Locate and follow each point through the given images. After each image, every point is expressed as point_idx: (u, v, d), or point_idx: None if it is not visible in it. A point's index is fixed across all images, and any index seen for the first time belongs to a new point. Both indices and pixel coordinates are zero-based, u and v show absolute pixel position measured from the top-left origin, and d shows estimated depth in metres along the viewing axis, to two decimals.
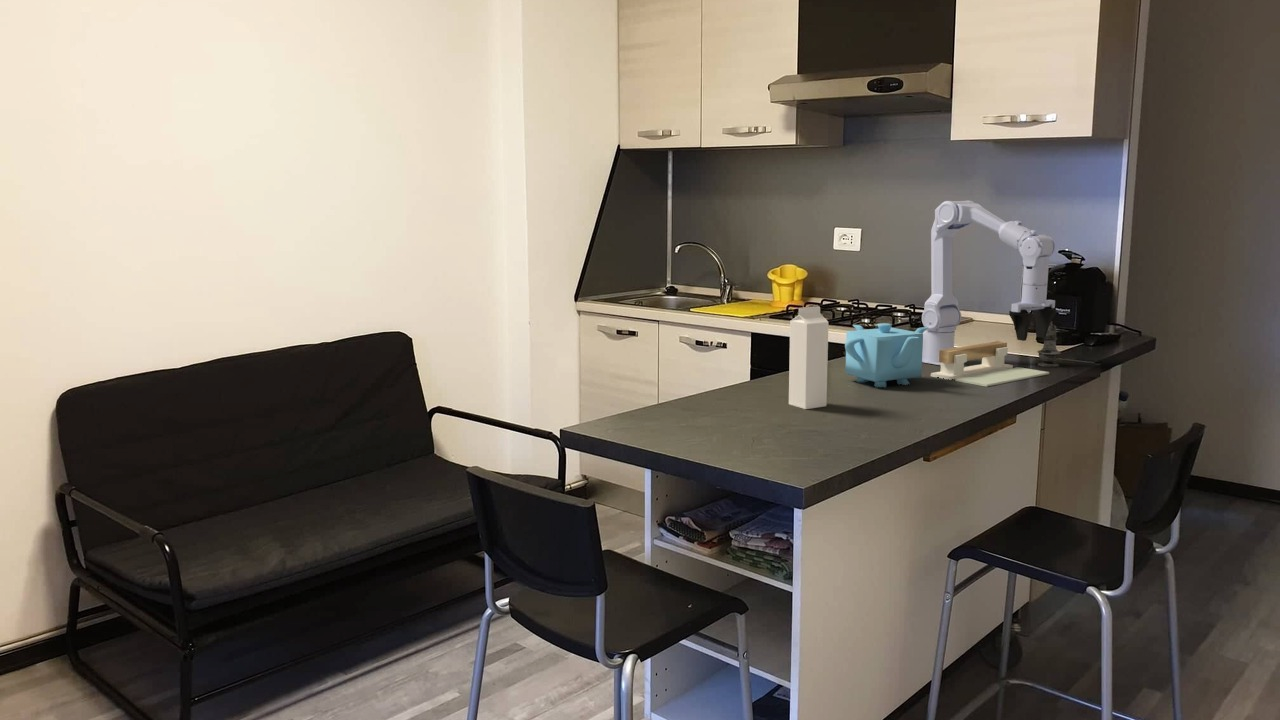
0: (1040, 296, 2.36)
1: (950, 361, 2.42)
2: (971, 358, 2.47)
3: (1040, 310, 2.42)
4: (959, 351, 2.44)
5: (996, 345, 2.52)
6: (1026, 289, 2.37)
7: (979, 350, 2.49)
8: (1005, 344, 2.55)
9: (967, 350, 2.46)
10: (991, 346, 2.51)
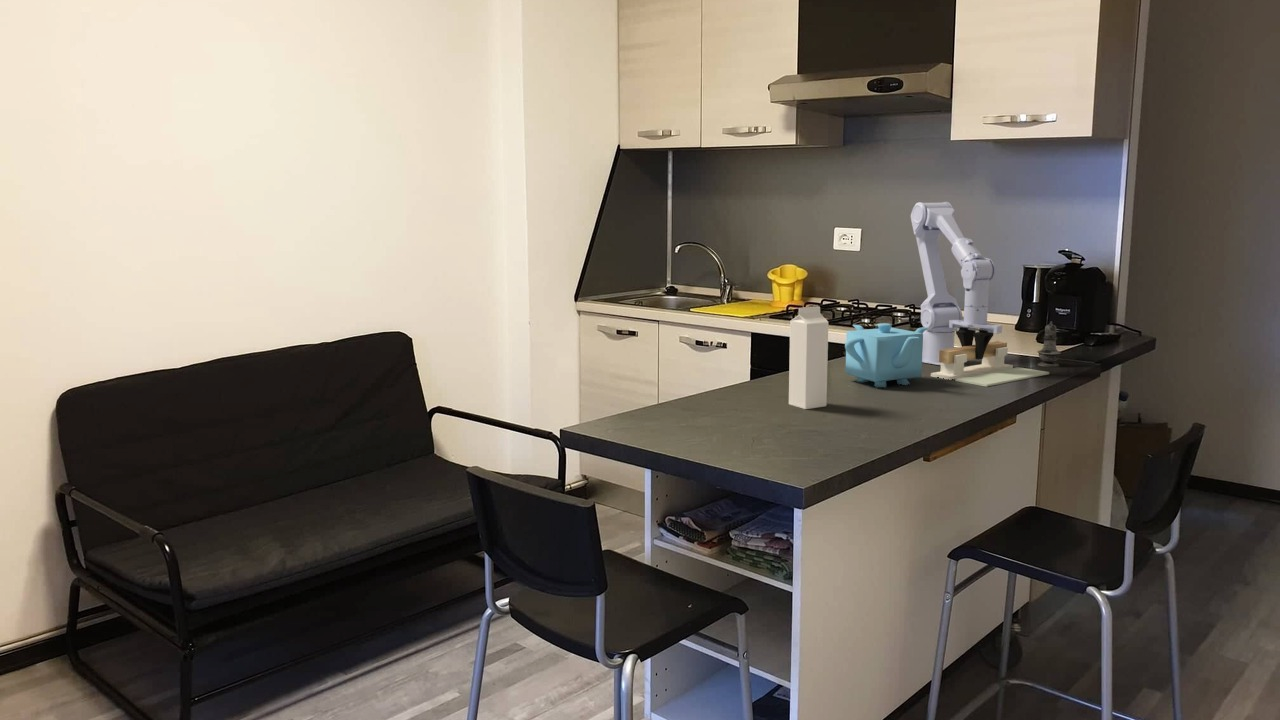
0: (965, 316, 2.47)
1: (950, 361, 2.42)
2: (971, 358, 2.47)
3: None
4: (959, 351, 2.44)
5: (996, 345, 2.52)
6: None
7: None
8: (1005, 344, 2.55)
9: (967, 350, 2.46)
10: (991, 346, 2.51)
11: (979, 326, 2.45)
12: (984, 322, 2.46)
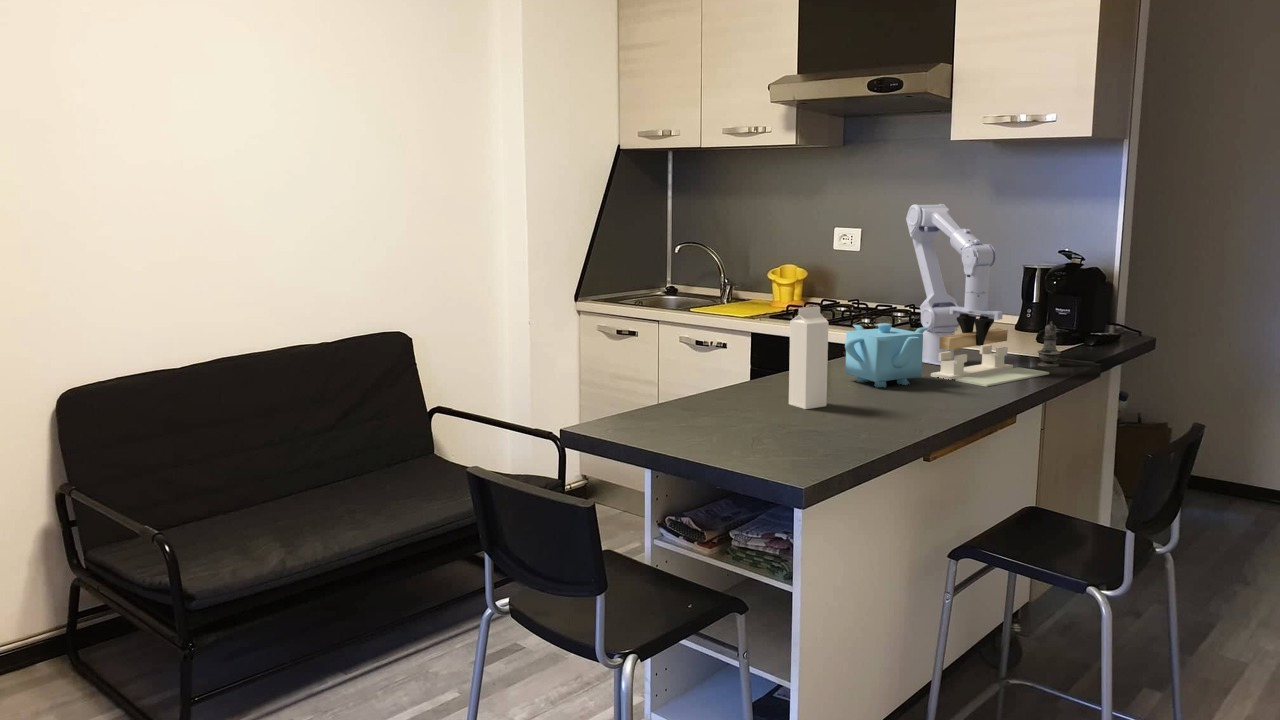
0: (966, 303, 2.47)
1: (951, 348, 2.42)
2: (972, 345, 2.46)
3: None
4: (960, 338, 2.43)
5: (997, 332, 2.52)
6: None
7: None
8: (1006, 331, 2.54)
9: (968, 337, 2.45)
10: (992, 333, 2.51)
11: (980, 312, 2.44)
12: (985, 308, 2.45)
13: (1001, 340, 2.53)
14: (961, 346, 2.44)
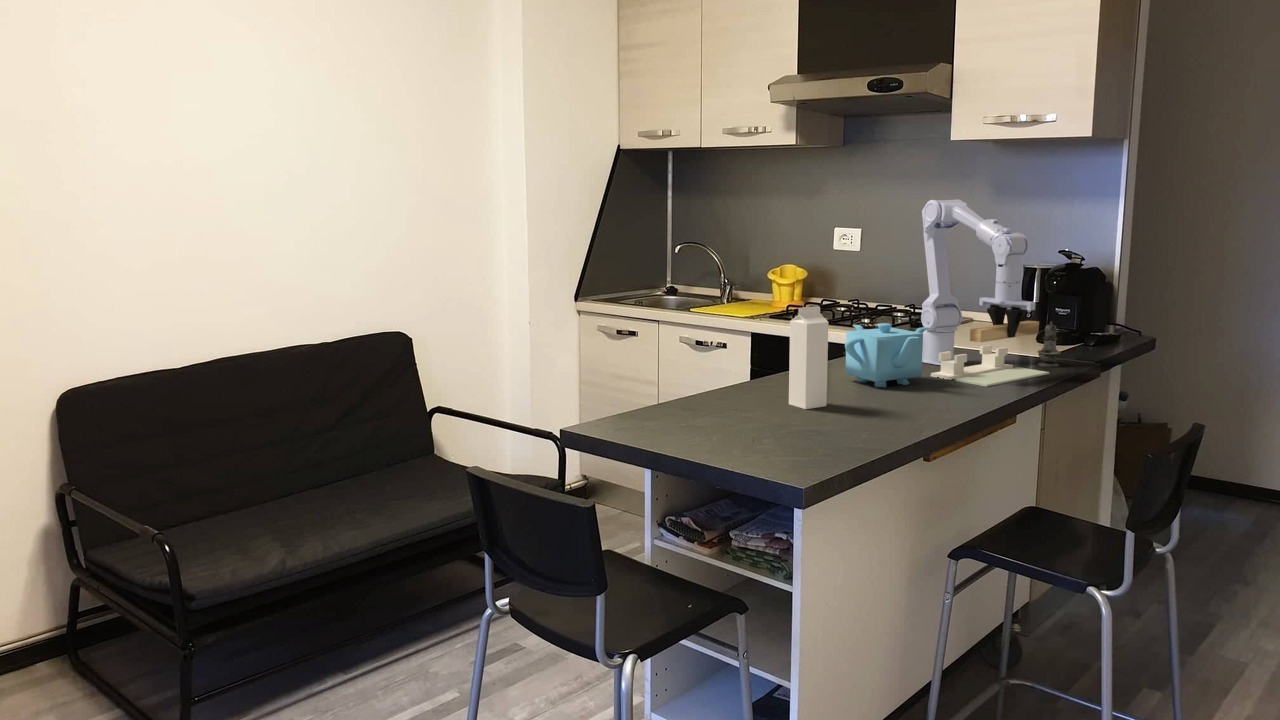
0: (997, 293, 2.39)
1: (982, 340, 2.34)
2: (1003, 337, 2.39)
3: None
4: (991, 330, 2.35)
5: (1028, 324, 2.44)
6: None
7: None
8: (1037, 323, 2.46)
9: (999, 329, 2.37)
10: (1023, 325, 2.43)
11: (1011, 303, 2.36)
12: (1016, 299, 2.38)
13: (1032, 332, 2.46)
14: (992, 338, 2.36)
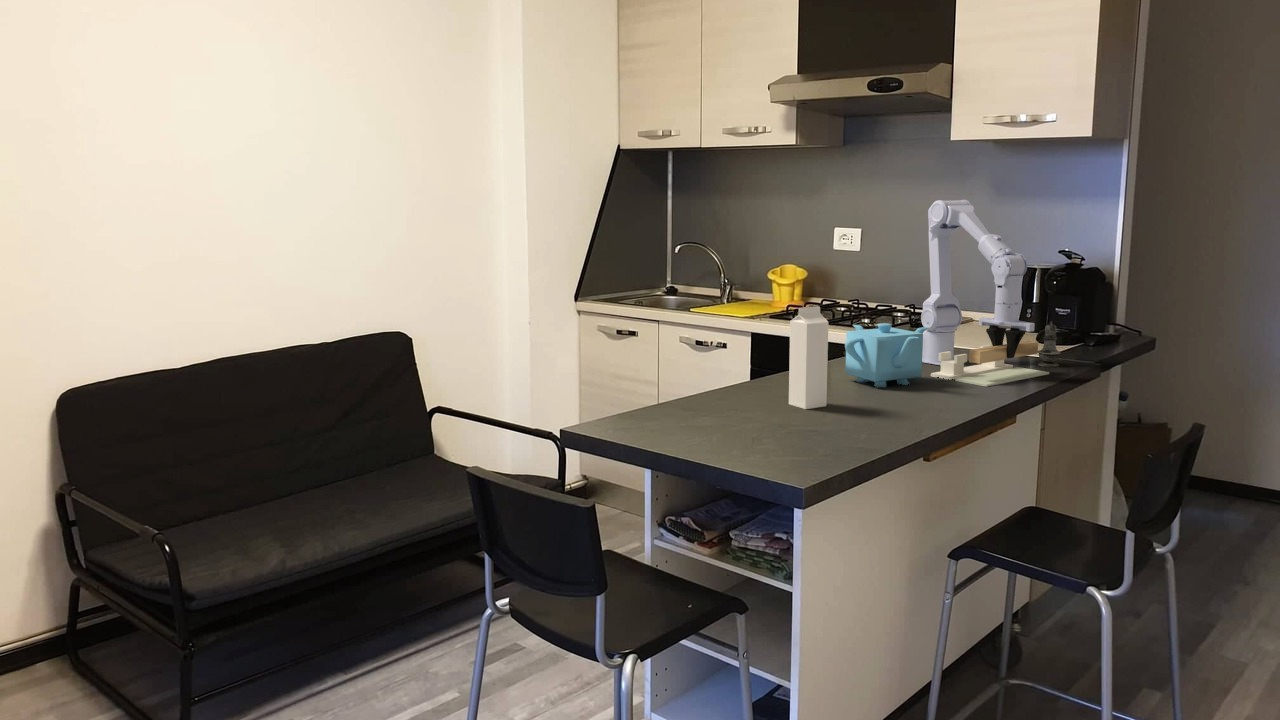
0: (996, 314, 2.40)
1: (981, 361, 2.35)
2: (1002, 358, 2.39)
3: None
4: (990, 351, 2.36)
5: (1027, 345, 2.45)
6: None
7: None
8: (1036, 344, 2.47)
9: (998, 350, 2.38)
10: (1022, 346, 2.44)
11: (1011, 324, 2.37)
12: (1016, 320, 2.38)
13: (1032, 353, 2.46)
14: (992, 359, 2.37)
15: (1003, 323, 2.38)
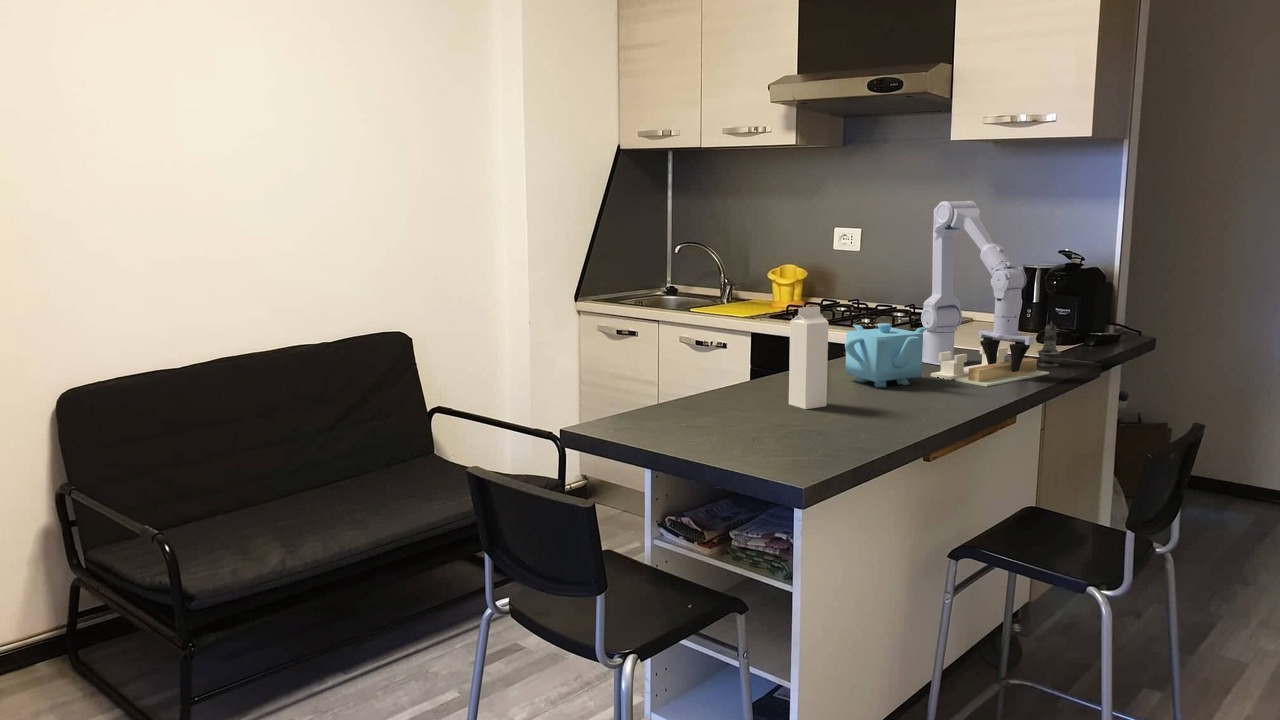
0: (995, 327, 2.40)
1: (980, 379, 2.36)
2: (1001, 376, 2.40)
3: None
4: (989, 369, 2.37)
5: (1026, 362, 2.46)
6: None
7: (1009, 367, 2.42)
8: (1035, 361, 2.48)
9: (997, 368, 2.39)
10: (1021, 363, 2.44)
11: (1010, 337, 2.38)
12: (1015, 333, 2.39)
13: (1030, 370, 2.47)
14: (990, 378, 2.38)
15: (1002, 336, 2.39)
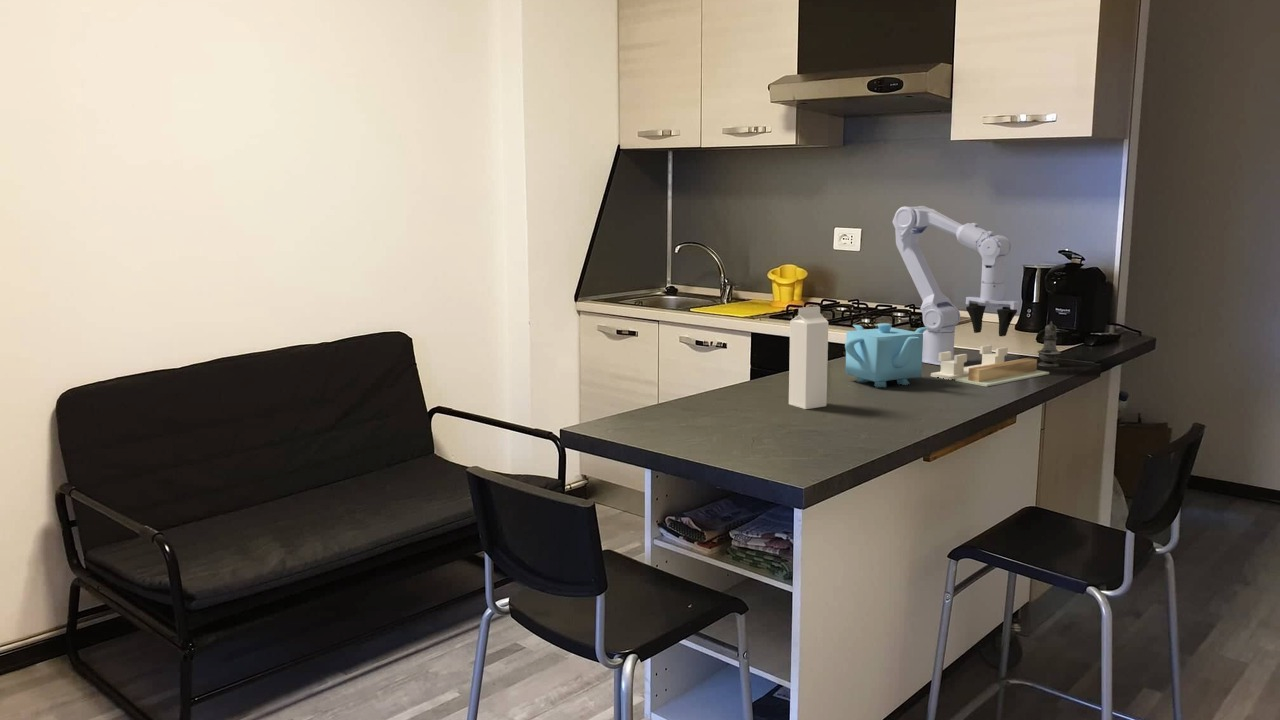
0: (982, 293, 2.50)
1: (980, 379, 2.36)
2: (1001, 376, 2.40)
3: None
4: (989, 369, 2.37)
5: (1026, 362, 2.46)
6: None
7: (1009, 367, 2.42)
8: (1035, 361, 2.48)
9: (997, 368, 2.39)
10: (1021, 363, 2.44)
11: (996, 302, 2.47)
12: (1001, 298, 2.48)
13: (1030, 370, 2.47)
14: (990, 378, 2.38)
15: (988, 301, 2.48)
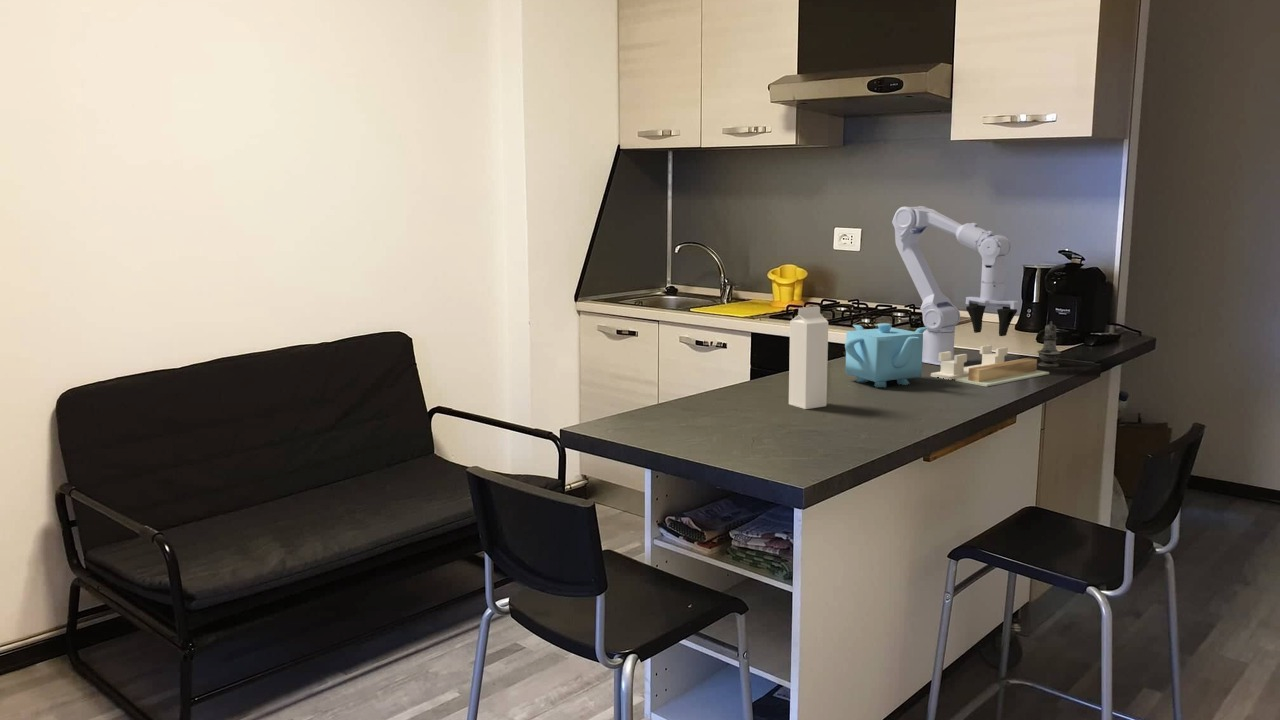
0: (982, 293, 2.50)
1: (980, 379, 2.36)
2: (1001, 376, 2.40)
3: None
4: (989, 369, 2.37)
5: (1026, 362, 2.46)
6: None
7: (1009, 367, 2.42)
8: (1035, 361, 2.48)
9: (997, 368, 2.39)
10: (1021, 363, 2.44)
11: (996, 302, 2.47)
12: (1001, 298, 2.49)
13: (1030, 370, 2.47)
14: (990, 378, 2.38)
15: (989, 301, 2.48)
